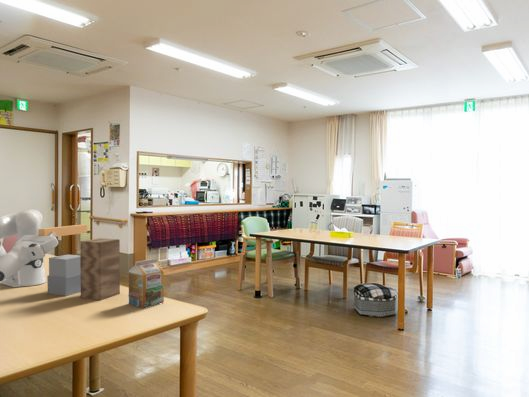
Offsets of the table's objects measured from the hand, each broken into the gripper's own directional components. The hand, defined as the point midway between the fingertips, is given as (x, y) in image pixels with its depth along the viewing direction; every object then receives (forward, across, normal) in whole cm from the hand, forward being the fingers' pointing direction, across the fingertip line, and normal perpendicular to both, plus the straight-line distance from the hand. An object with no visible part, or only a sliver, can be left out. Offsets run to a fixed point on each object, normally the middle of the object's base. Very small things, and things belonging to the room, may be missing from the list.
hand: (50, 232), depth 185 cm
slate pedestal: (-7, 0, -30) cm, 31 cm away
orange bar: (+6, 0, -6) cm, 8 cm away
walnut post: (-6, +20, -31) cm, 37 cm away
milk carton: (-8, +48, -30) cm, 57 cm away
